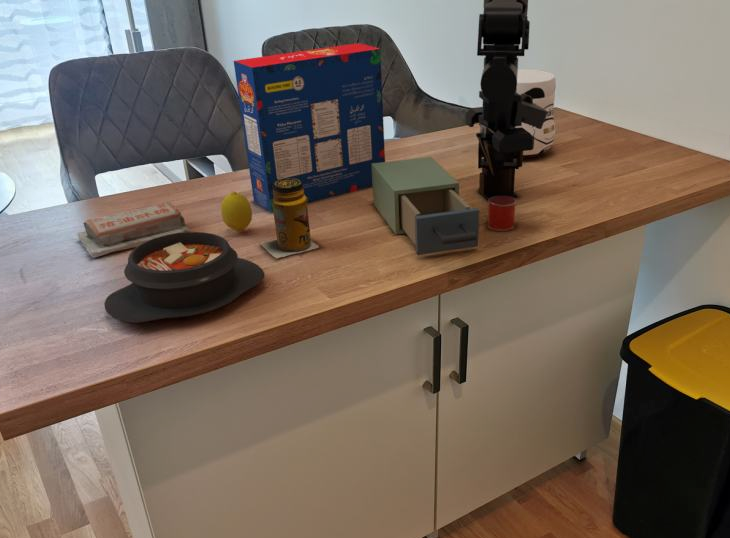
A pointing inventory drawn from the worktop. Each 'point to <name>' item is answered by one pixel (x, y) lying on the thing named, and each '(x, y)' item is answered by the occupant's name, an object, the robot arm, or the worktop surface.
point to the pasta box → (312, 119)
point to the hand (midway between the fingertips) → (496, 175)
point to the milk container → (543, 95)
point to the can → (501, 213)
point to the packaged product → (130, 228)
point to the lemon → (236, 211)
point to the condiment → (290, 219)
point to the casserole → (181, 278)
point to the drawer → (438, 221)
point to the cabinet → (406, 184)
